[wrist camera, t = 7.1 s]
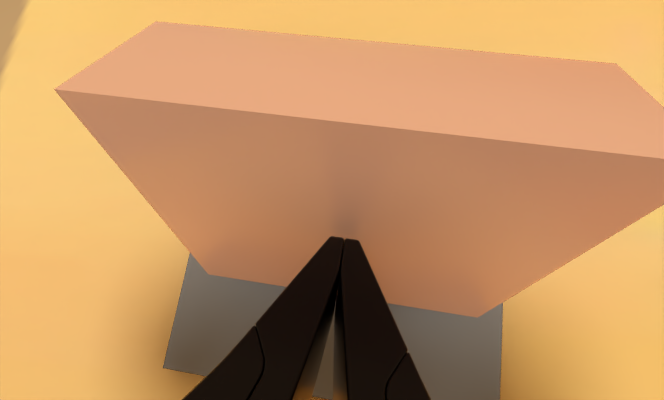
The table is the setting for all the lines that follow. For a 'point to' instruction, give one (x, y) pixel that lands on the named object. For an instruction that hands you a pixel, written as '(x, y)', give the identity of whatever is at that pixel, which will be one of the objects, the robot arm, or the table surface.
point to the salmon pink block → (375, 155)
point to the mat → (414, 325)
